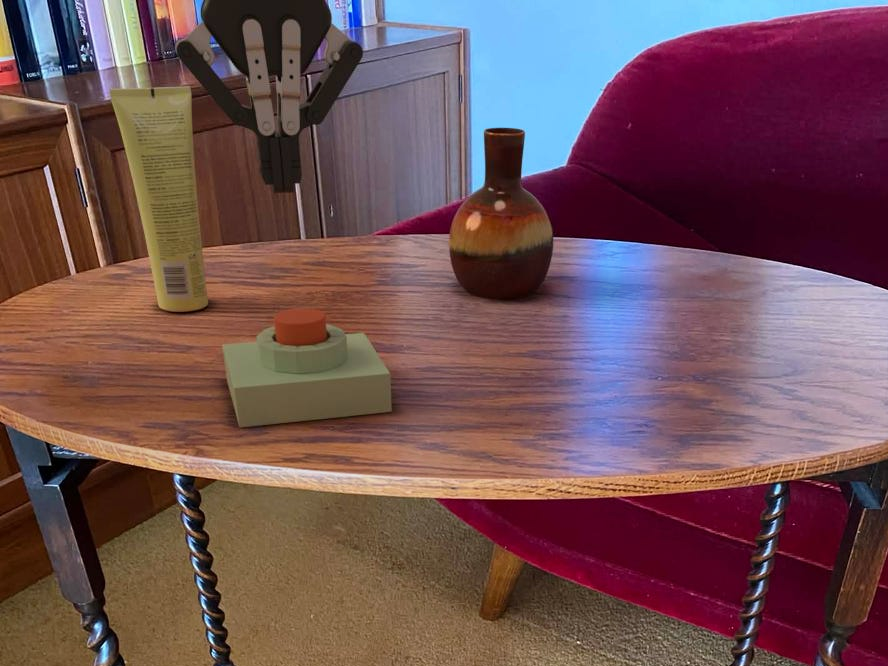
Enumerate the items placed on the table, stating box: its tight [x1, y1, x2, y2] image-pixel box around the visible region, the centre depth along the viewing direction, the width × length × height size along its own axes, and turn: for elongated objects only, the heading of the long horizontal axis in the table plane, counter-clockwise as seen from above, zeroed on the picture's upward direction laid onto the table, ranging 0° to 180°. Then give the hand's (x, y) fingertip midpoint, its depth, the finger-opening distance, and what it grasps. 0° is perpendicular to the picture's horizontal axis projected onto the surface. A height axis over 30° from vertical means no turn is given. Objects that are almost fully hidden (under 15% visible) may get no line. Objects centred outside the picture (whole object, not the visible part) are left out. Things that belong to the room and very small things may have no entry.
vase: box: [448, 127, 554, 300], centre depth 100 cm, size 11×11×15 cm
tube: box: [109, 85, 209, 313], centre depth 92 cm, size 6×5×20 cm
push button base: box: [221, 323, 393, 429], centre depth 78 cm, size 12×10×5 cm
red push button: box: [273, 307, 327, 346], centre depth 76 cm, size 4×4×2 cm
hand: (282, 190), depth 70 cm, fingers closed
